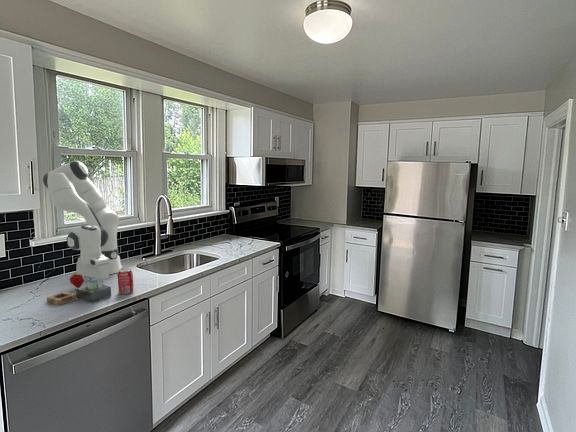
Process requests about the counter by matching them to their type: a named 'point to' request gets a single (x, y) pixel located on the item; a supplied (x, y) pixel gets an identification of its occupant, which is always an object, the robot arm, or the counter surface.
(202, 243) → the counter surface
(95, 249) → the robot arm
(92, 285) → the plug
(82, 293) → the port block
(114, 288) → the counter surface
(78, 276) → the strawberry
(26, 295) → the counter surface
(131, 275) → the soda can
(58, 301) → the wooden square frame
